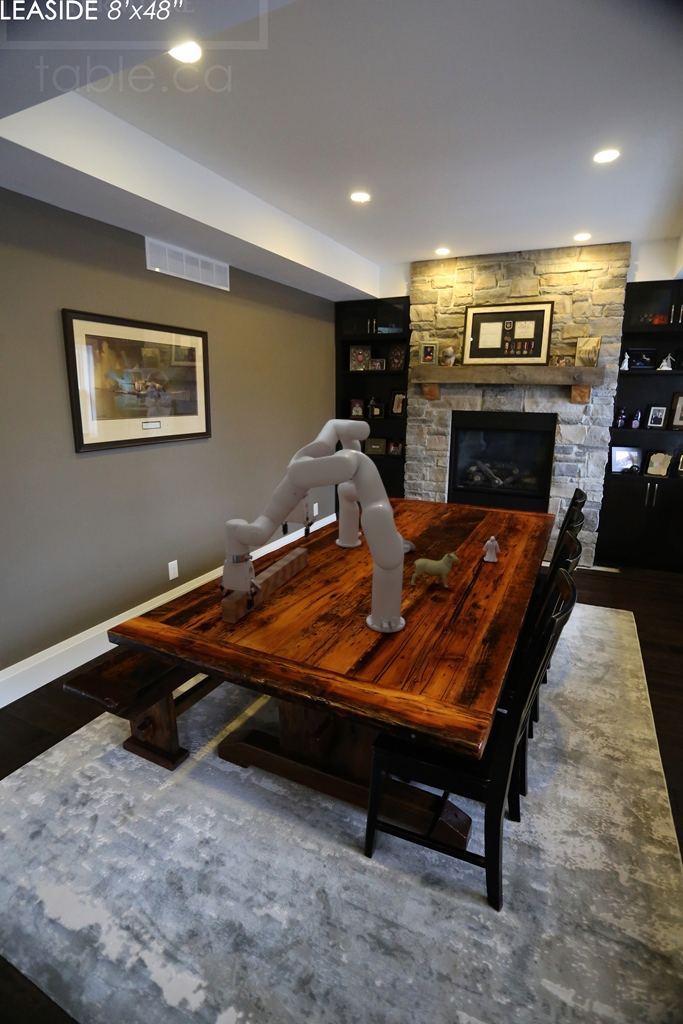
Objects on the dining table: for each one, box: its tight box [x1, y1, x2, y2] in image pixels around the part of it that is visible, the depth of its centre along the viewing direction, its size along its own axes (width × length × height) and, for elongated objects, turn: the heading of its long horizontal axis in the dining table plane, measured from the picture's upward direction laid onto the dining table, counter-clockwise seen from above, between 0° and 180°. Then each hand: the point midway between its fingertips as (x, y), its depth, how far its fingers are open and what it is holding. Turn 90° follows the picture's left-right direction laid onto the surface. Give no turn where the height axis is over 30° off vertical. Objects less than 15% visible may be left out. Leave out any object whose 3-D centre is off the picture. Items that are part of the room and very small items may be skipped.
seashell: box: [403, 539, 417, 554], centre depth 234 cm, size 8×5×8 cm
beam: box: [220, 547, 309, 624], centre depth 188 cm, size 59×4×7 cm, turn 160°
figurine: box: [482, 535, 501, 563], centre depth 223 cm, size 8×8×12 cm
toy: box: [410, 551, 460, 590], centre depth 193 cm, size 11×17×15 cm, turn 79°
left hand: (296, 535), depth 206 cm, fingers open, 9 cm apart
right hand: (239, 606), depth 168 cm, fingers open, 7 cm apart
